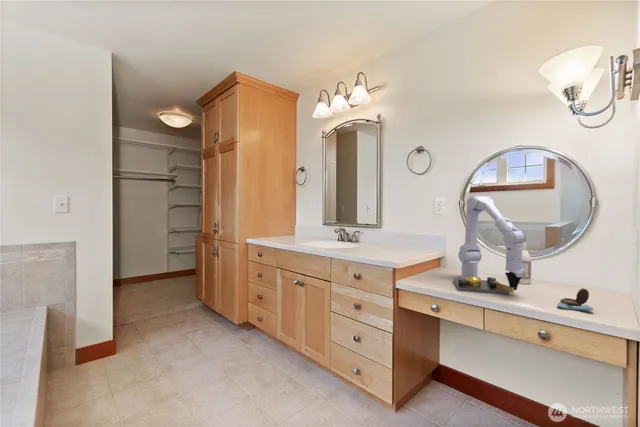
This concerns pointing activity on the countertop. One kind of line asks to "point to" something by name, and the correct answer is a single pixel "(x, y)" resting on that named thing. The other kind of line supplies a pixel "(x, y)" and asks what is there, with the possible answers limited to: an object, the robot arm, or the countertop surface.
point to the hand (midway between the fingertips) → (513, 289)
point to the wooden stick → (501, 286)
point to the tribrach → (477, 285)
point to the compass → (581, 298)
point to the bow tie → (574, 307)
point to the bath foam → (526, 266)
